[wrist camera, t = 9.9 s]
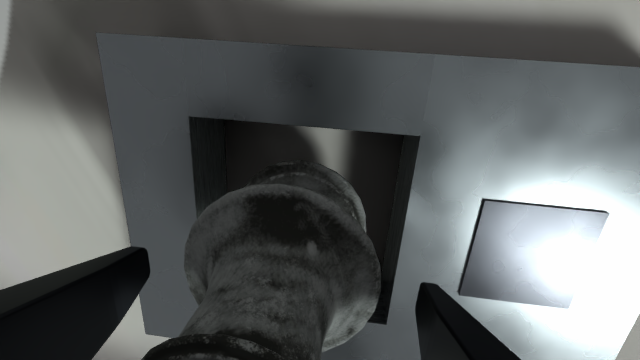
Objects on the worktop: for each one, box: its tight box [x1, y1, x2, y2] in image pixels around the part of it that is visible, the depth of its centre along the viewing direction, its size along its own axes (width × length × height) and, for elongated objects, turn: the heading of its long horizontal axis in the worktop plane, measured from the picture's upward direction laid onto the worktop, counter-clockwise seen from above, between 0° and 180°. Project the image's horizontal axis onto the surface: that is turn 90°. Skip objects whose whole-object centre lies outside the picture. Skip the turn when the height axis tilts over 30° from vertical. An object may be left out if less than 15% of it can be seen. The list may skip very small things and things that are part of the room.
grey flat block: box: [96, 33, 640, 360], centre depth 13 cm, size 13×20×3 cm, turn 86°
